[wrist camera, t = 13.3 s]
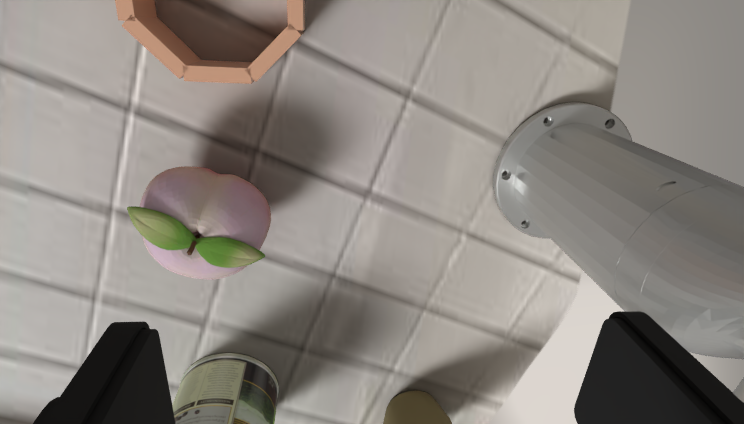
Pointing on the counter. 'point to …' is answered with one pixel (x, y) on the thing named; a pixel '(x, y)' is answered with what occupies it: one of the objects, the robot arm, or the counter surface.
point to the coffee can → (227, 392)
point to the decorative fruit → (202, 222)
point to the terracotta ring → (157, 38)
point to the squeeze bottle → (415, 410)
